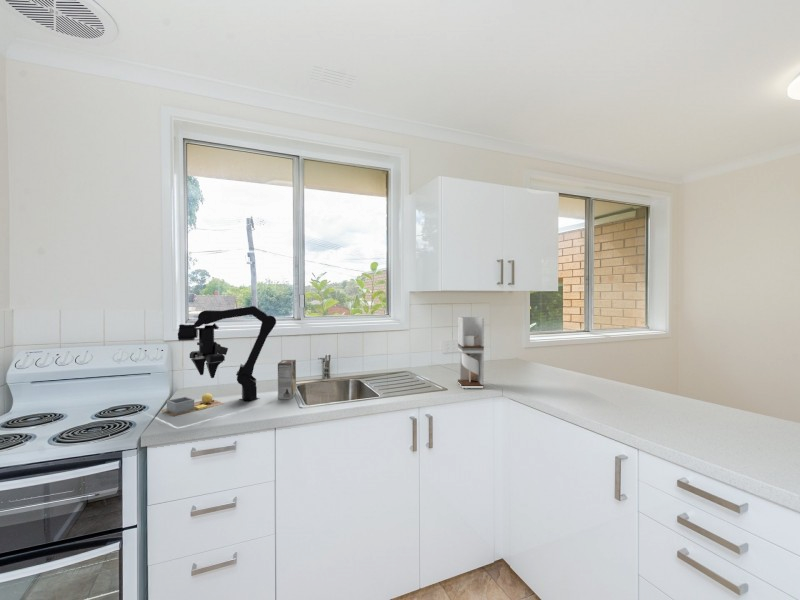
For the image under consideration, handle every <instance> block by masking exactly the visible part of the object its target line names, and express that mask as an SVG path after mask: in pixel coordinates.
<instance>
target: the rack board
mask: <svg viewBox="0 0 800 600" xmlns="http://www.w3.org/2000/svg"><path fill="white" fill-rule="evenodd" d="M203 404H204V405H207V406H208V408H205V409H210V408H213V407H217V406H222V405H225V403H224V402H221V401H218V400H215V399H212V401H211V402H209V403H204V402H203V401H202V400H201V401H196V402H195V401H194V406H198V405H203ZM205 409H204V410H205ZM202 410H203V409H201V410H200V411H202ZM160 411H161V412H163V413H164V414H168V415H170V416H172V417H177V416H178V417H179V416H182V415H187V414H189V413H193V412H197V411H199V410H197V409H194V410H190V411H186V412H182V413H178V414H174V413H171V412H169V411H167V408H165V409H161V410H160Z"/></svg>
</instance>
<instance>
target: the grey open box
mask: <svg viewBox="0 0 800 600" xmlns="http://www.w3.org/2000/svg"><path fill="white" fill-rule="evenodd" d="M194 403H195V399H193V398H190V397H188V396H181V397H178V398H173V399H169V400H166V409H167V411H169V412H171V413H174V414H178V413H182V412H186V411H190V410H194Z"/></svg>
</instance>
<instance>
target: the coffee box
mask: <svg viewBox="0 0 800 600" xmlns="http://www.w3.org/2000/svg"><path fill="white" fill-rule="evenodd" d="M296 361H297V360H296V359H282V360H281V361H280V362H278V363H277V399H278V400H287V399H288V400H291V399H293V398H294V396H295V395H296V394H295V393H297V374H296V373H297V372H296V371H297V370H296V369H297V364H296Z"/></svg>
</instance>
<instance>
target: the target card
mask: <svg viewBox="0 0 800 600" xmlns="http://www.w3.org/2000/svg"><path fill="white" fill-rule="evenodd" d="M205 408H206V409H209V408H208V406H207V405H204V404H203V405H198V406H194V409H197V410H198V411H202V410H205ZM201 409H202V410H201Z"/></svg>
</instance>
